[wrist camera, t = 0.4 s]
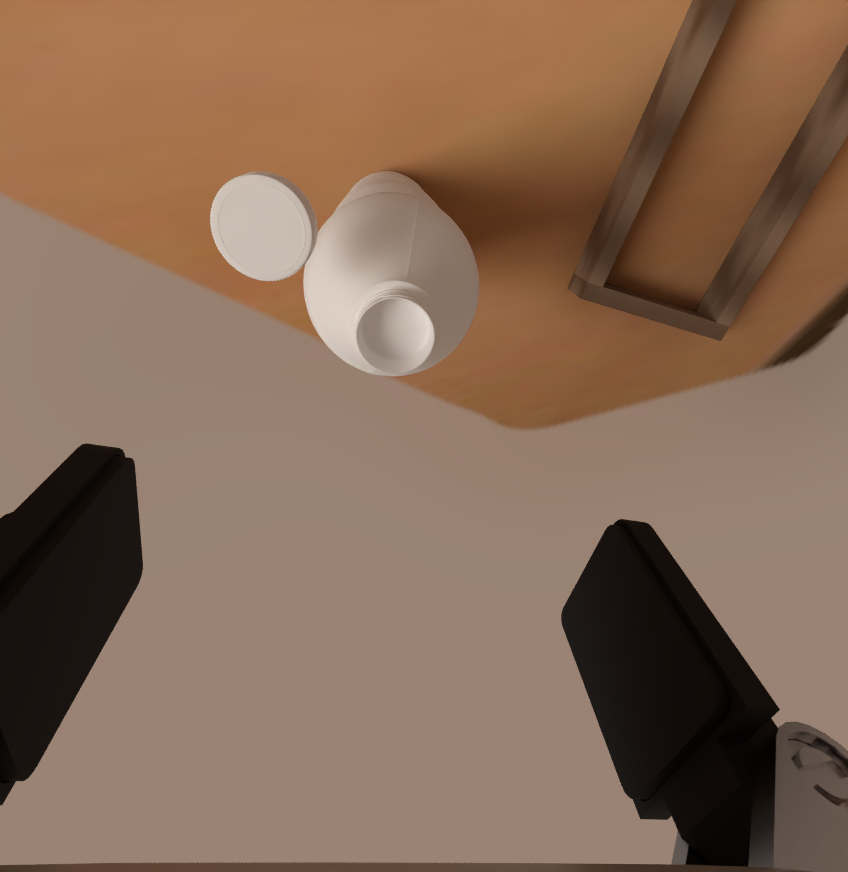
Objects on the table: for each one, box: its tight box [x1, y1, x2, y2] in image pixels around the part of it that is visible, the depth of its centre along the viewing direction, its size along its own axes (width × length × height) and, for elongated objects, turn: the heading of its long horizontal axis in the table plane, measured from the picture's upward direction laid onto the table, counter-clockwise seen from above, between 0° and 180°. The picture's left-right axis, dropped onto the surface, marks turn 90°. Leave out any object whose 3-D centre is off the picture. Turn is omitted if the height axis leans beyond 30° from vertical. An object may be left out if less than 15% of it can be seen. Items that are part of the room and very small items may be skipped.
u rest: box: [568, 0, 848, 341], centre depth 33 cm, size 21×12×3 cm, turn 163°
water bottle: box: [210, 171, 479, 376], centre depth 24 cm, size 9×6×25 cm
